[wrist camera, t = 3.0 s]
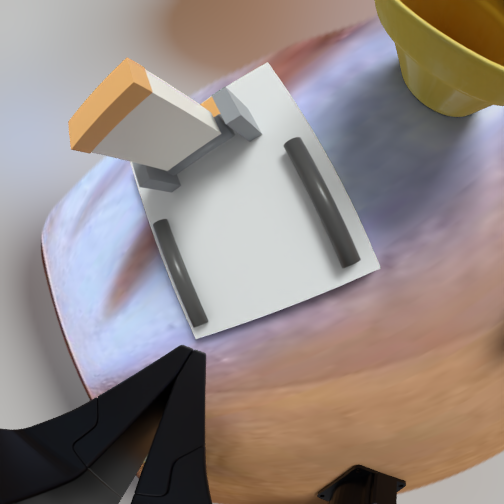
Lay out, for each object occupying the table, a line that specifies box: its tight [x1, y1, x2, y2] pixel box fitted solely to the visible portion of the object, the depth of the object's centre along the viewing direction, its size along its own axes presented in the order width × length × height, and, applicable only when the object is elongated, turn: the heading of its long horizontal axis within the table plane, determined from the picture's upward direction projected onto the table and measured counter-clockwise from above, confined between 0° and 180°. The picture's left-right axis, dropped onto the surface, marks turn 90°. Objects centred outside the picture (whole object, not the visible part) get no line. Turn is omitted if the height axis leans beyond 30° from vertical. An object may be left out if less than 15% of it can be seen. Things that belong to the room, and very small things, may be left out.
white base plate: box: [130, 62, 380, 339], centre depth 17 cm, size 16×14×5 cm
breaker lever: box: [68, 58, 235, 176], centre depth 14 cm, size 2×5×9 cm, turn 115°
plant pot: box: [375, 0, 504, 117], centre depth 9 cm, size 10×10×10 cm
